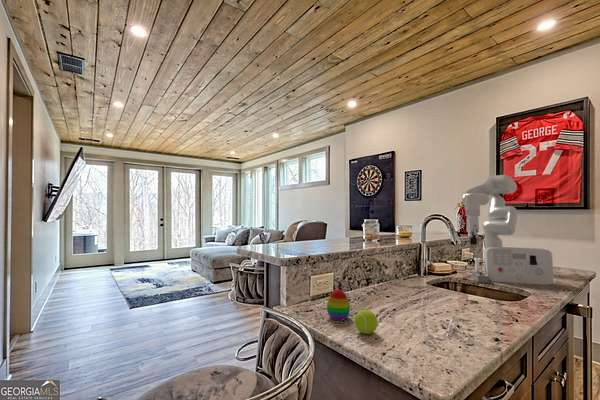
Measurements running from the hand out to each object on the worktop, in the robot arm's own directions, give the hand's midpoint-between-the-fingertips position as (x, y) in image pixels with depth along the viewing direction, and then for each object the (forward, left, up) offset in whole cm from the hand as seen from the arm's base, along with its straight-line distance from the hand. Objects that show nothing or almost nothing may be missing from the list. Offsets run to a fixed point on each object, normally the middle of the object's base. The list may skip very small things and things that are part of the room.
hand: (473, 244), depth 169 cm
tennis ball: (+103, -50, -18) cm, 116 cm away
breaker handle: (+7, 0, -16) cm, 17 cm away
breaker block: (+12, 0, -18) cm, 21 cm away
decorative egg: (+93, -61, -18) cm, 113 cm away
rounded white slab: (+12, +18, -18) cm, 28 cm away
